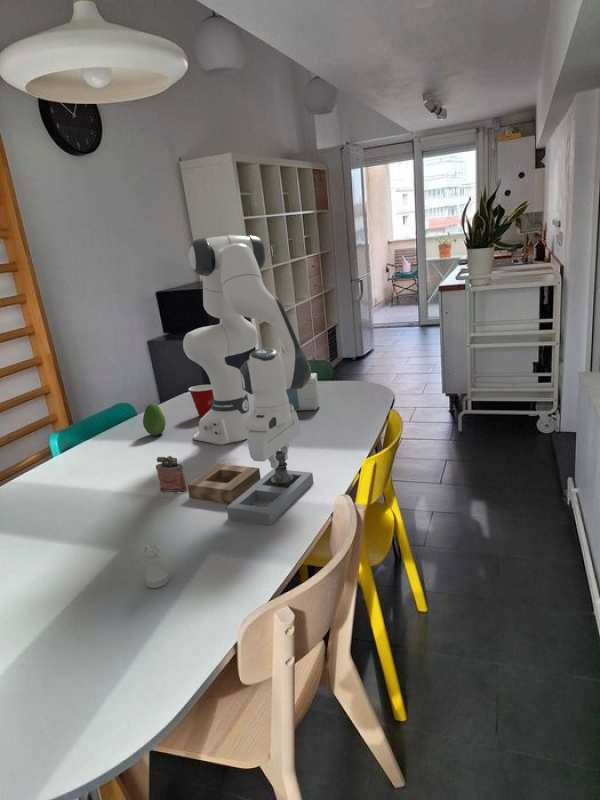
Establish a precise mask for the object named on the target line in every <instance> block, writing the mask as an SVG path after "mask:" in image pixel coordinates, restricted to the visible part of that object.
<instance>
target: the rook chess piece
mask: <svg viewBox="0 0 600 800" xmlns="http://www.w3.org/2000/svg"><path fill="white" fill-rule="evenodd" d="M160 551H161V550H160V548H159V547H158V545H156V544H155V543H154V544H149V545H146V546H145V547H144V548H143V552H142V555H143V556H144V557H145V562H146V565H147V572H146V576H145V581H146V583H145V584H146V586H147V587H148V588H150V589H160V588H161V587H164V586H165V585H166V584H167V583H168V581H169V575H168V571H167V570H166V569H165V568H164V567H163V566H162V563H161V560H160V559H161V556H160V555H159V553H160Z"/></svg>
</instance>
